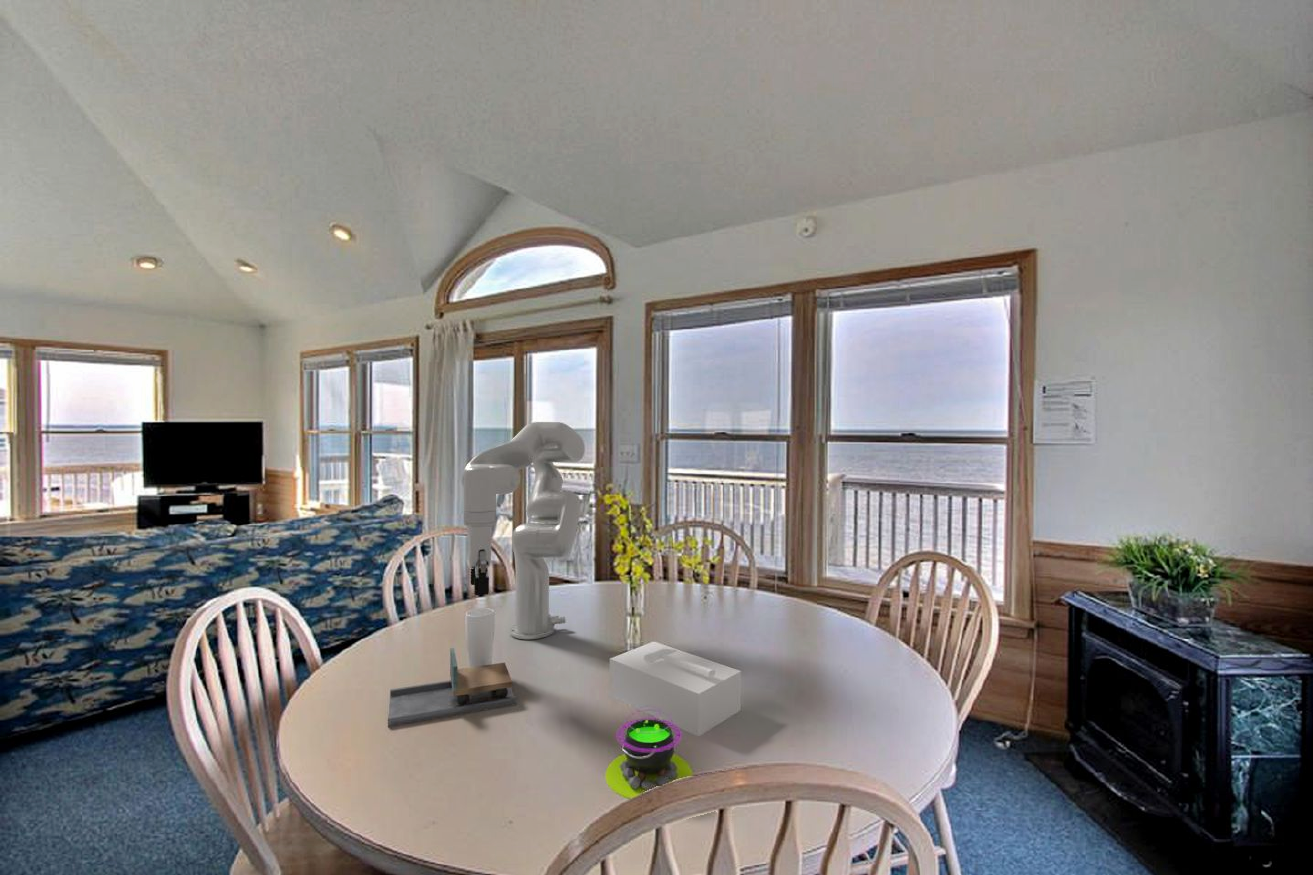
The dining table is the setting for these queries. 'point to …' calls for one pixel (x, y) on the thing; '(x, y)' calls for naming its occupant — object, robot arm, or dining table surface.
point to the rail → (438, 702)
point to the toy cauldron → (646, 757)
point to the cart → (478, 679)
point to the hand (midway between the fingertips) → (479, 589)
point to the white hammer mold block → (676, 686)
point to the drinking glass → (479, 636)
